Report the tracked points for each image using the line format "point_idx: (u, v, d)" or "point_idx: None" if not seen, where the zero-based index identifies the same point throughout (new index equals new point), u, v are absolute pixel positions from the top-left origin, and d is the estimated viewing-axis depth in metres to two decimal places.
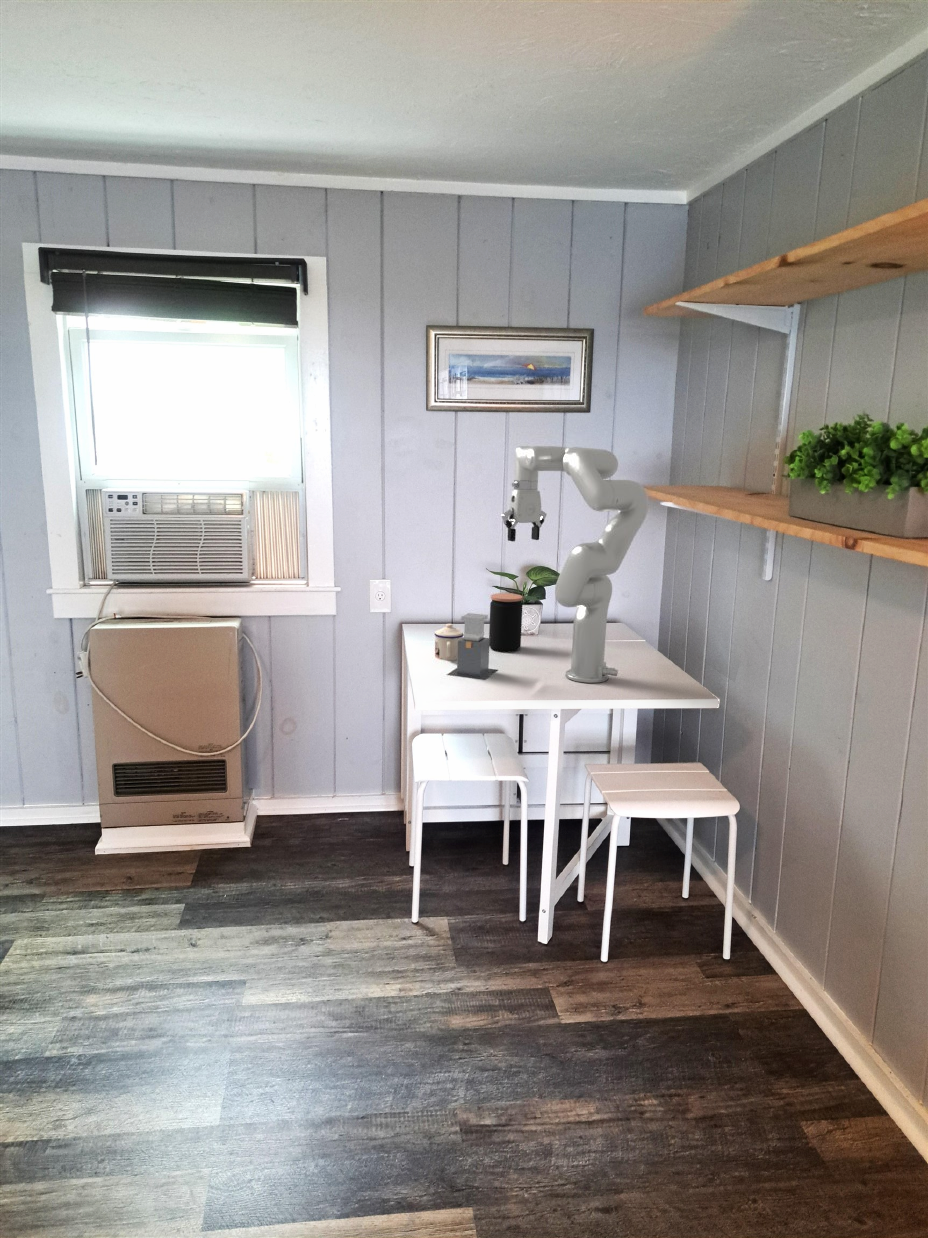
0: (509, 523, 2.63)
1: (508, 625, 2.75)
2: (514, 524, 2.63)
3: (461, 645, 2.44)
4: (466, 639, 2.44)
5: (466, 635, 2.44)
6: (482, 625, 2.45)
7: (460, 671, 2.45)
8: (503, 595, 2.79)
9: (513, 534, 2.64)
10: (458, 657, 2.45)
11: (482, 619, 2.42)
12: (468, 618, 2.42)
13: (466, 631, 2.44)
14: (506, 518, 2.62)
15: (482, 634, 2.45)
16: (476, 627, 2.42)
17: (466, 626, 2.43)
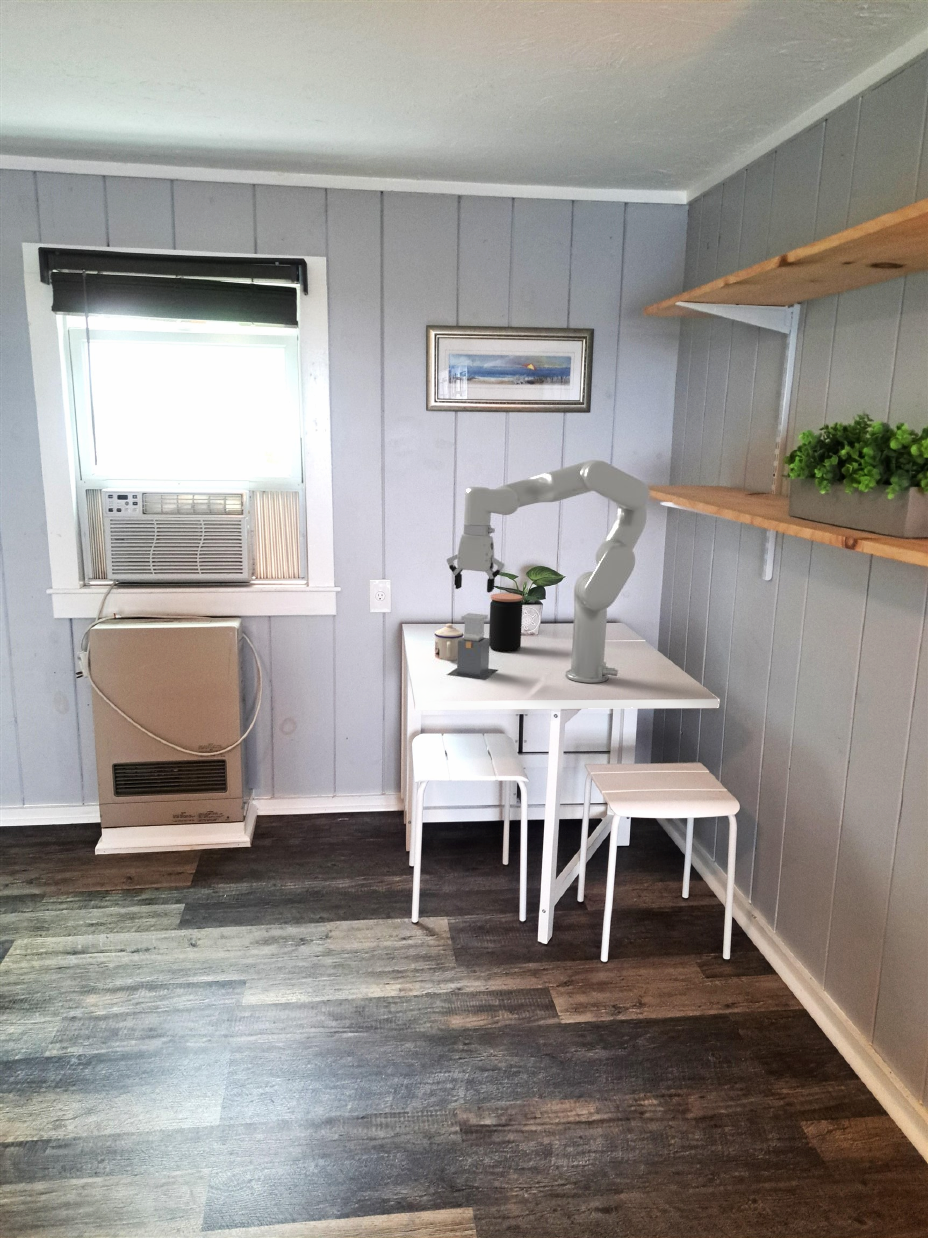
0: None
1: (508, 625, 2.75)
2: None
3: (461, 645, 2.44)
4: (466, 639, 2.44)
5: (466, 635, 2.44)
6: (482, 625, 2.45)
7: (460, 671, 2.45)
8: (503, 595, 2.79)
9: None
10: (458, 657, 2.45)
11: (482, 619, 2.42)
12: (468, 618, 2.42)
13: (466, 631, 2.44)
14: None
15: (482, 634, 2.45)
16: (476, 627, 2.42)
17: (466, 626, 2.43)
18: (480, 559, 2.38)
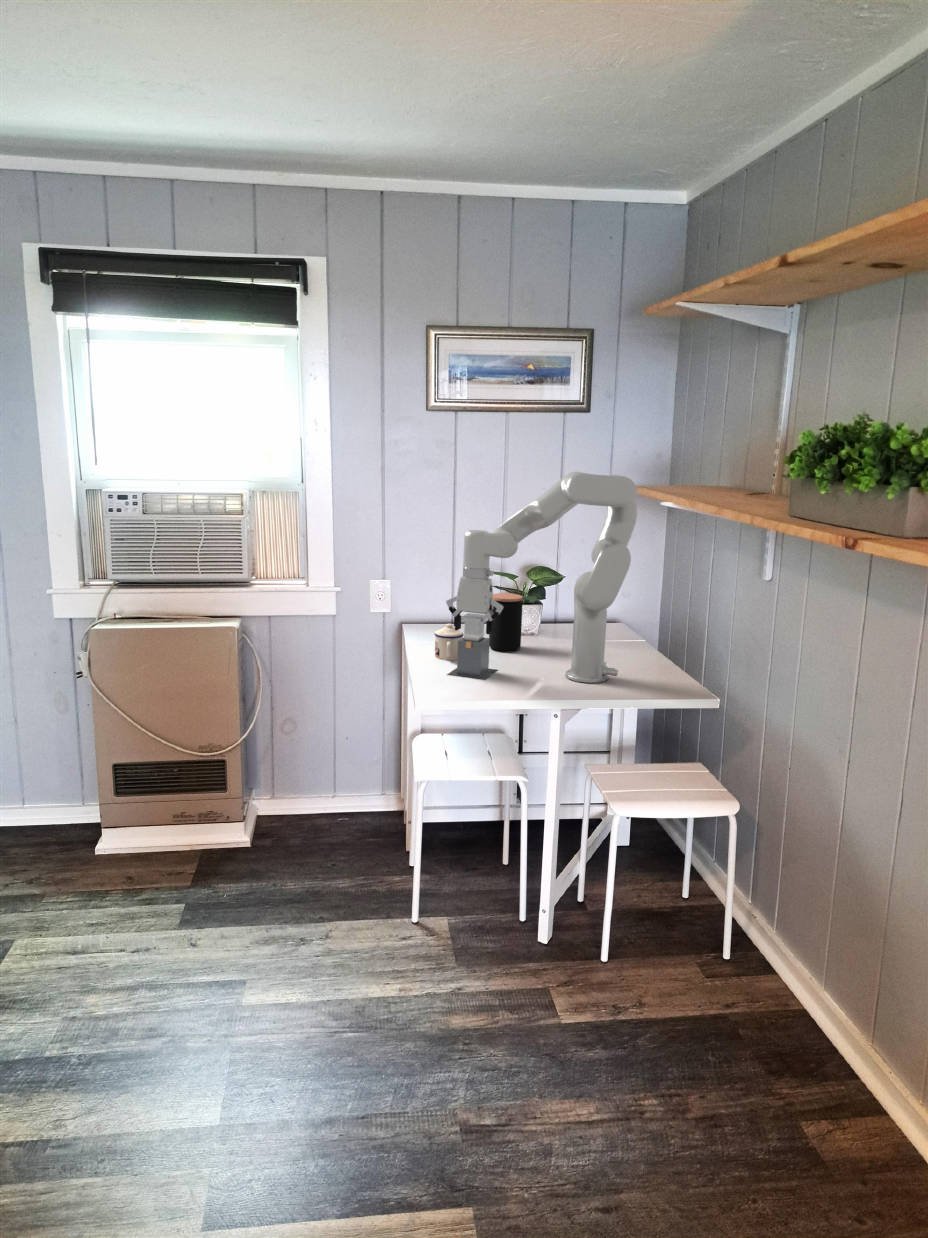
0: None
1: (508, 625, 2.75)
2: None
3: (461, 645, 2.44)
4: (466, 639, 2.44)
5: (466, 635, 2.44)
6: (482, 625, 2.45)
7: (460, 671, 2.45)
8: (503, 595, 2.79)
9: None
10: (458, 657, 2.45)
11: (482, 619, 2.42)
12: (468, 618, 2.42)
13: (466, 631, 2.44)
14: None
15: (482, 634, 2.45)
16: (476, 627, 2.42)
17: (466, 626, 2.43)
18: (479, 601, 2.40)
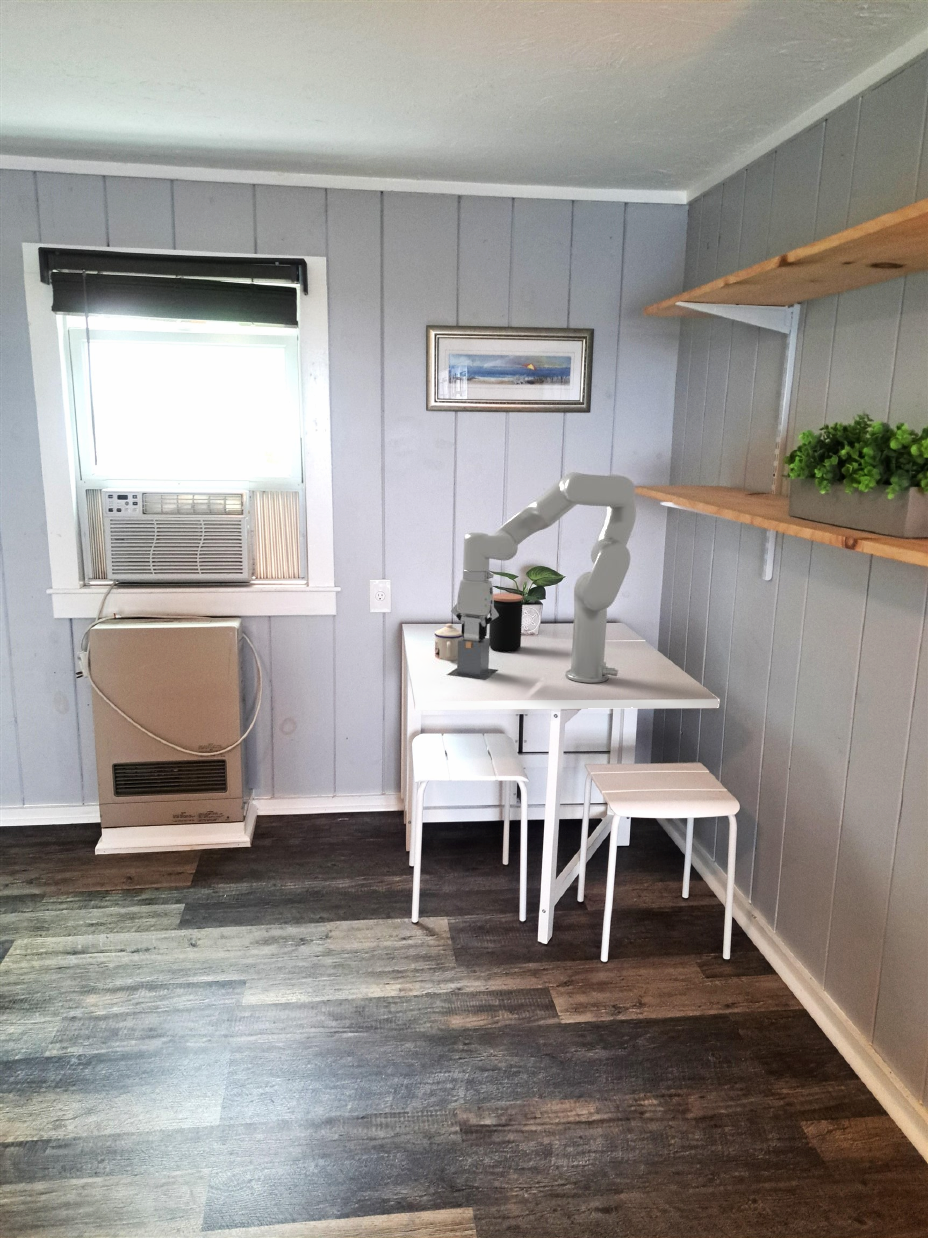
0: None
1: (508, 625, 2.75)
2: None
3: (461, 645, 2.44)
4: (466, 639, 2.44)
5: (466, 635, 2.44)
6: None
7: (460, 671, 2.45)
8: (503, 595, 2.79)
9: None
10: (458, 657, 2.45)
11: (482, 619, 2.42)
12: (468, 618, 2.42)
13: (466, 631, 2.44)
14: None
15: None
16: (476, 627, 2.42)
17: (466, 626, 2.43)
18: (479, 604, 2.40)
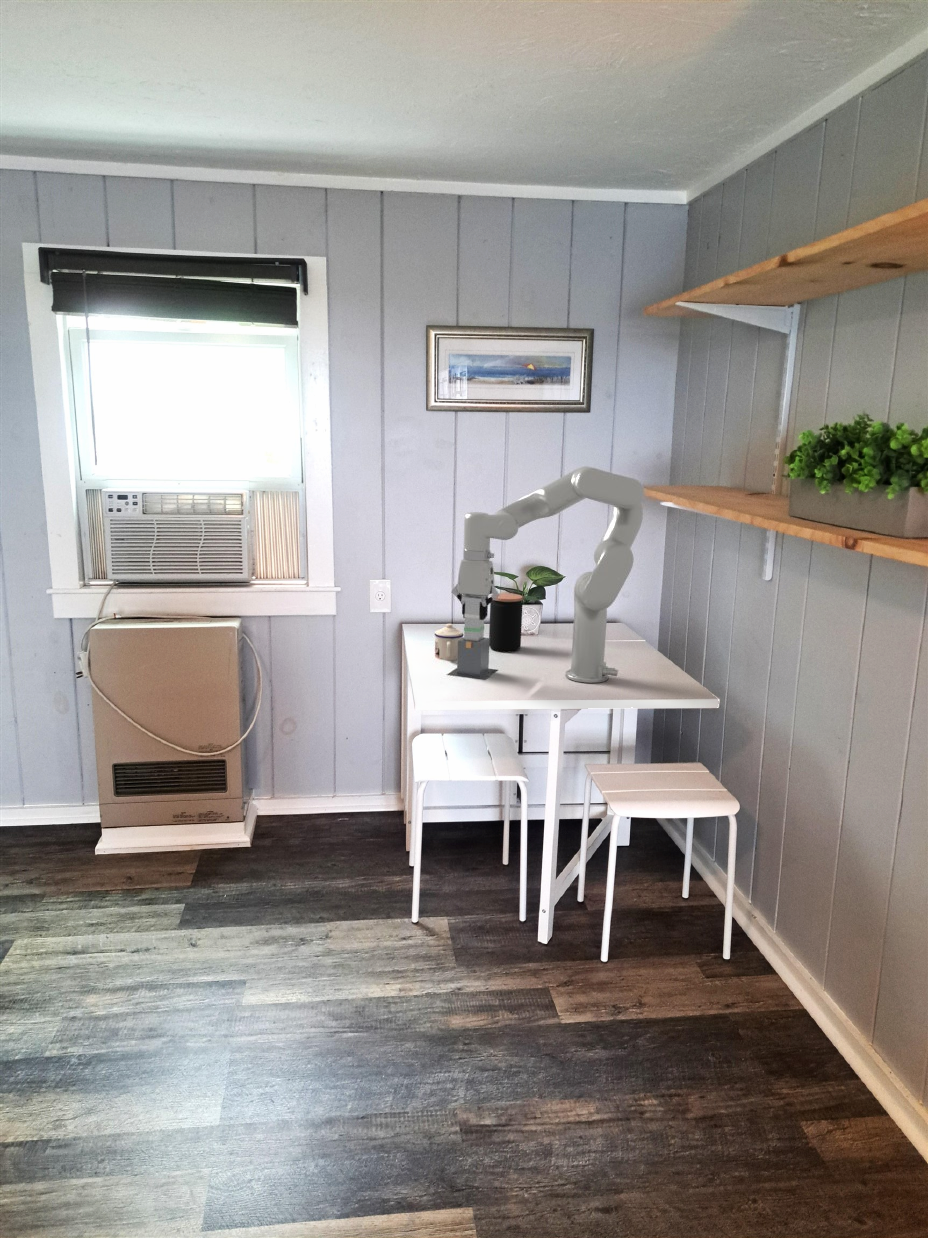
0: None
1: (508, 625, 2.75)
2: None
3: (461, 645, 2.44)
4: (467, 619, 2.43)
5: (467, 615, 2.43)
6: None
7: (460, 671, 2.45)
8: (503, 595, 2.79)
9: None
10: (458, 657, 2.45)
11: None
12: (469, 598, 2.41)
13: (467, 611, 2.42)
14: None
15: None
16: (476, 607, 2.41)
17: (467, 606, 2.42)
18: (480, 584, 2.39)
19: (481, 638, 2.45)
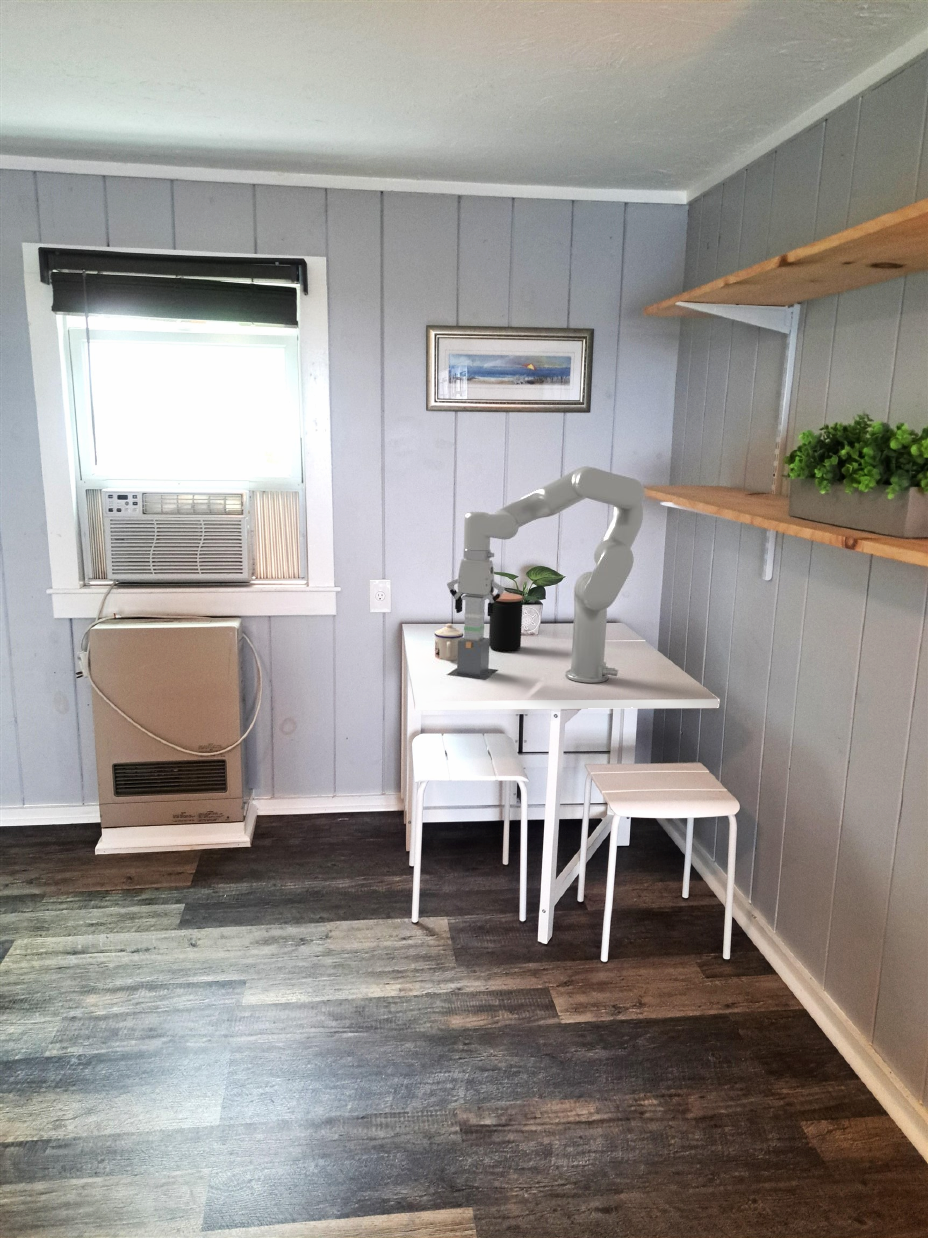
0: None
1: (508, 625, 2.75)
2: None
3: (461, 645, 2.44)
4: (467, 619, 2.43)
5: (467, 615, 2.43)
6: (483, 605, 2.44)
7: (460, 671, 2.45)
8: (503, 595, 2.79)
9: None
10: (458, 657, 2.45)
11: (483, 599, 2.41)
12: (469, 598, 2.41)
13: (467, 611, 2.42)
14: None
15: (483, 614, 2.44)
16: (476, 607, 2.41)
17: (467, 606, 2.42)
18: (480, 583, 2.39)
19: (481, 638, 2.45)
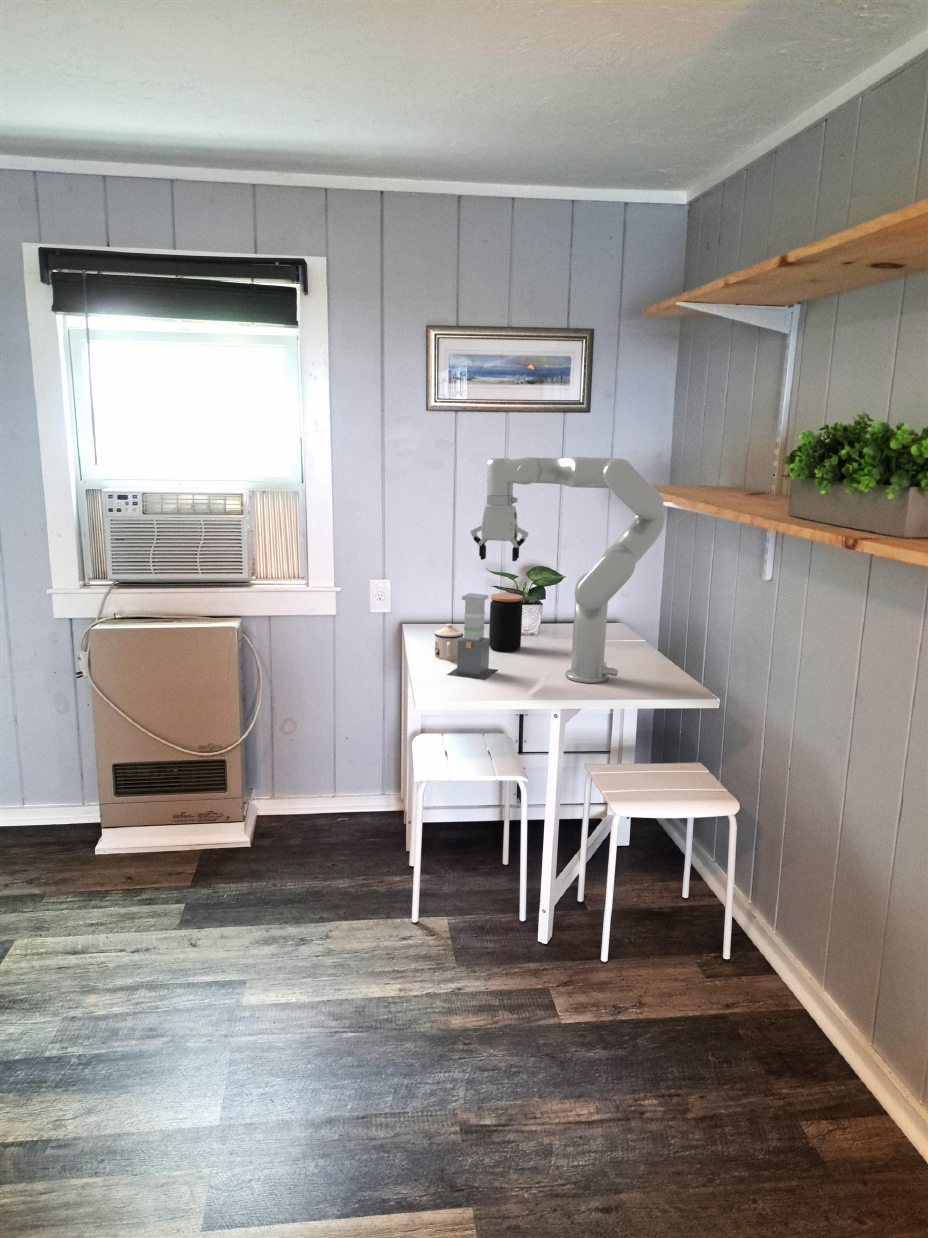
0: None
1: (508, 625, 2.75)
2: None
3: (461, 645, 2.44)
4: (467, 619, 2.43)
5: (467, 615, 2.43)
6: (483, 605, 2.44)
7: (460, 671, 2.45)
8: (503, 595, 2.79)
9: None
10: (458, 657, 2.45)
11: (483, 599, 2.41)
12: (469, 598, 2.41)
13: (467, 611, 2.42)
14: None
15: (483, 614, 2.44)
16: (476, 607, 2.41)
17: (467, 606, 2.42)
18: (505, 529, 2.43)
19: (481, 638, 2.45)
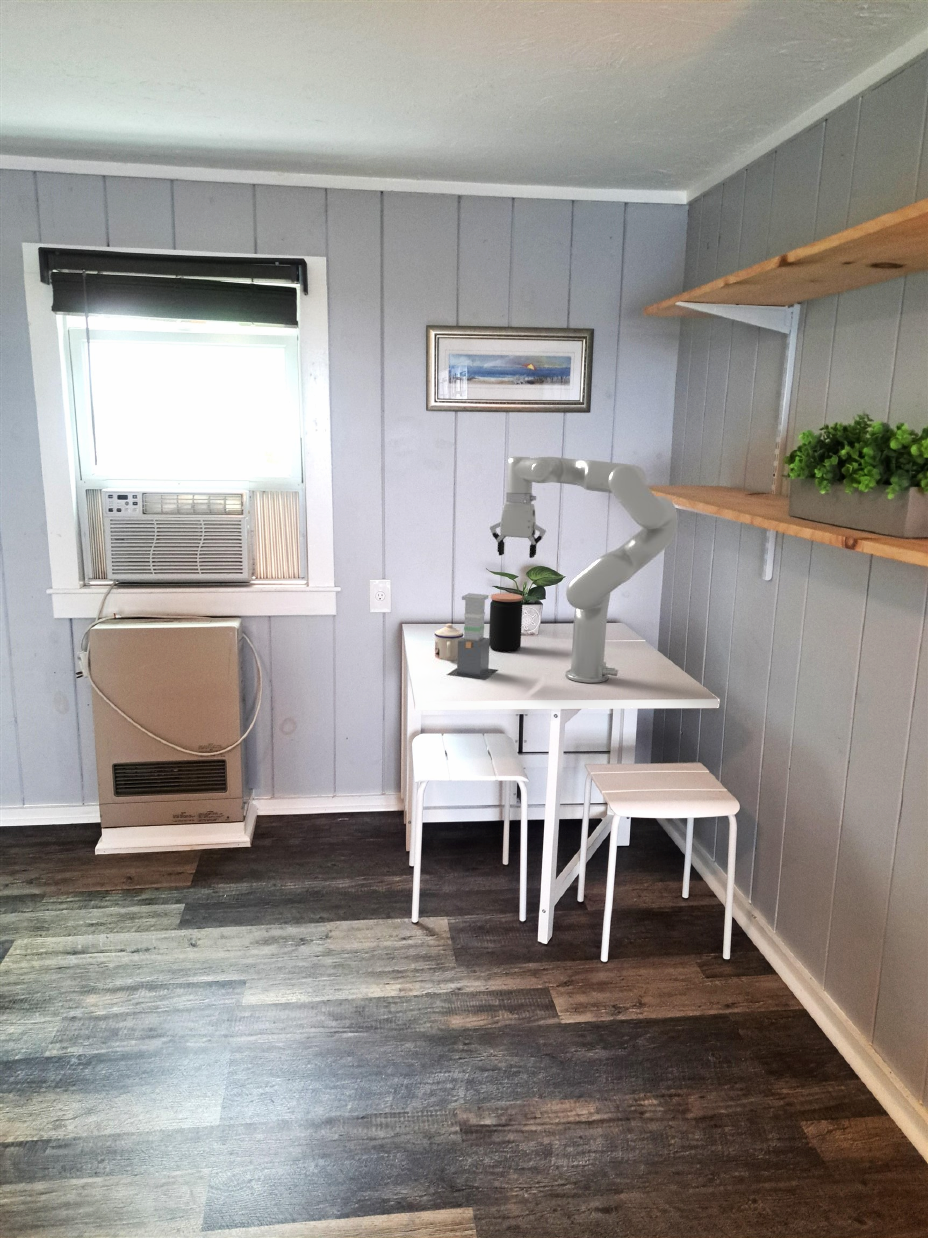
0: None
1: (508, 625, 2.75)
2: None
3: (461, 645, 2.44)
4: (467, 619, 2.43)
5: (467, 615, 2.43)
6: (483, 605, 2.44)
7: (460, 671, 2.45)
8: (503, 595, 2.79)
9: None
10: (458, 657, 2.45)
11: (483, 599, 2.41)
12: (469, 598, 2.41)
13: (467, 611, 2.42)
14: None
15: (483, 614, 2.44)
16: (476, 607, 2.41)
17: (467, 606, 2.42)
18: (523, 526, 2.48)
19: (481, 638, 2.45)
